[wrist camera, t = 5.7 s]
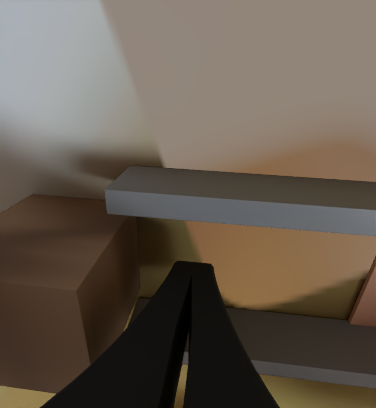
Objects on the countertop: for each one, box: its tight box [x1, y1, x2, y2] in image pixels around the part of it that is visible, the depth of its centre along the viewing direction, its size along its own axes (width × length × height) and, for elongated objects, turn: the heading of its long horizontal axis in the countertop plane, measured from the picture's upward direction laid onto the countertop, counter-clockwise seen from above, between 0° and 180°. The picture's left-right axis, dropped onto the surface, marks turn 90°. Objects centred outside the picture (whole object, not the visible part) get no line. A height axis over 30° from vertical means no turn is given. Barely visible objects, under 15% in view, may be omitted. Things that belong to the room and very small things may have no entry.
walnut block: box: [0, 194, 140, 394], centre depth 9 cm, size 4×4×5 cm
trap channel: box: [105, 166, 376, 389], centre depth 10 cm, size 14×8×2 cm, turn 88°
